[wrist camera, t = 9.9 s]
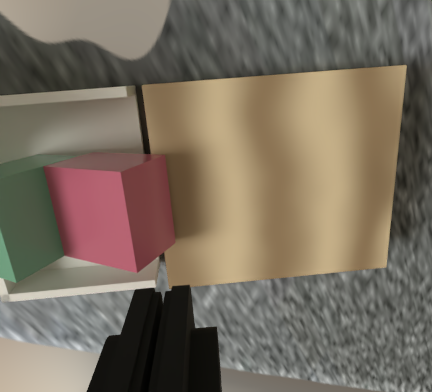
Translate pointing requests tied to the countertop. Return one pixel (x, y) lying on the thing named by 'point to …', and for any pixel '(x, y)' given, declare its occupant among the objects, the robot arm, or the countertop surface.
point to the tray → (72, 146)
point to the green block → (27, 218)
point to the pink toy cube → (112, 208)
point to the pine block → (278, 172)
